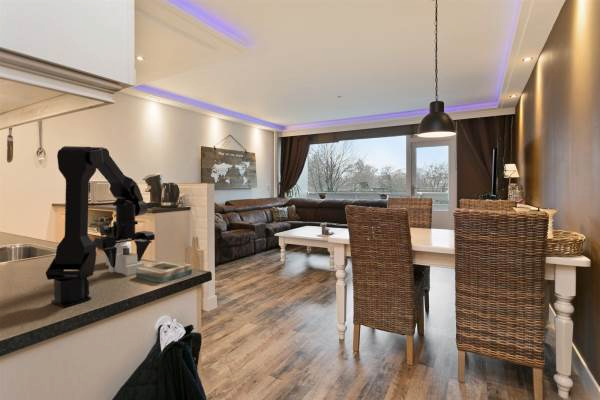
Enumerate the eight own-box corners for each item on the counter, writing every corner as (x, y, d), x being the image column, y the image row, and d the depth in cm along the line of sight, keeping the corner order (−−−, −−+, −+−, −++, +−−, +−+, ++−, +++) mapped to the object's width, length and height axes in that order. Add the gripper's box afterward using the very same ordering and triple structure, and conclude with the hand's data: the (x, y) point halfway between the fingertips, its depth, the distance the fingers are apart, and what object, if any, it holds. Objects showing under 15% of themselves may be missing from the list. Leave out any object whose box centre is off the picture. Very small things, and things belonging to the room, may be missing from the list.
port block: (162, 283, 98) (162, 273, 98) (136, 277, 104) (136, 268, 104) (191, 273, 109) (191, 264, 109) (166, 268, 115) (166, 260, 114)
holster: (127, 275, 105) (127, 266, 105) (108, 271, 110) (108, 262, 109) (143, 271, 110) (143, 262, 110) (125, 267, 115) (125, 259, 115)
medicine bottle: (131, 260, 126) (131, 229, 125) (127, 264, 119) (127, 232, 118) (110, 261, 124) (110, 229, 123) (105, 265, 117) (105, 232, 116)
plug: (126, 274, 107) (126, 250, 106) (115, 272, 110) (114, 248, 109) (137, 271, 110) (137, 248, 110) (126, 269, 113) (125, 246, 113)
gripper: (135, 214, 121) (135, 255, 122) (82, 219, 104) (83, 267, 105) (155, 216, 116) (155, 259, 117) (103, 222, 99) (104, 272, 100)
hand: (126, 264), depth 110 cm, fingers open, 9 cm apart
